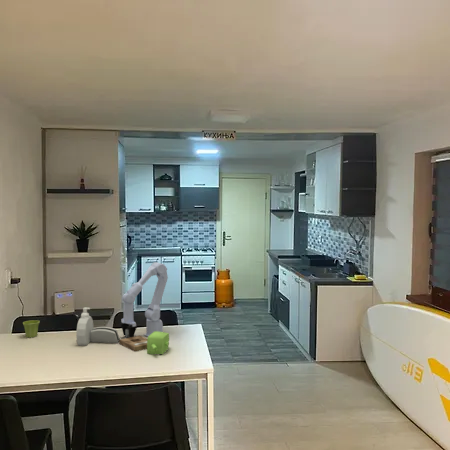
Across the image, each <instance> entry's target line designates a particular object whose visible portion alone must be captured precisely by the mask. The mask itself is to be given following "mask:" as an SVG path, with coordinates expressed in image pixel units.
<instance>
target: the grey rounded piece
mask: <svg viewBox="0 0 450 450" xmlns="http://www.w3.org/2000/svg"><path fill="white" fill-rule="evenodd" d="M118 333H119V332H118V330H117V329H116V328H113V327H109V326H97V327H94V328H93V329H92V331H91V332H90V338H91V341H90V342H91V343H107V344H108V343H109V344H110V343H111V344H118V343H119V340H120V339H121V337H119V334H118Z"/></svg>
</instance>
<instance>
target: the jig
mask: <svg viewBox="0 0 450 450" xmlns="http://www.w3.org/2000/svg"><path fill="white" fill-rule="evenodd" d="M147 338H148V337H144V336H142V335H134V337H130V338H120V340H119V341H118V343H119V345H121V346H122V347H125V348H127V349H129V350H131V351H133V352H139V350H140V351H144V350H147ZM143 349H144V350H143Z"/></svg>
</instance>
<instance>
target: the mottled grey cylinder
mask: <svg viewBox="0 0 450 450" xmlns="http://www.w3.org/2000/svg"><path fill="white" fill-rule="evenodd" d="M124 336H125V338H130V336H129V330H128V328H127V329H125V335H124ZM125 338H124V339H125Z"/></svg>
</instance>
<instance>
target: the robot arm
mask: <svg viewBox="0 0 450 450" xmlns="http://www.w3.org/2000/svg"><path fill="white" fill-rule="evenodd" d="M167 270H168V267H167V266H166V265H165V264H164V263H160V262H157V261H154V262H152V263H151V265H150V266H149V267H148V268H147V269H146V271H145V272H144V274H143V275H142V277H141V278H140V279H139V280H138V282H134V283H132V285H131V286H130V288H129V289H128V290H126V292H125V293H124V294H123V295H122V297H121V301H122V303H123V308H122V309H123V318H121V319H120V320H121V321H120V322H121V323H119V326H120V327H121V331H122V334H123V336H125V329H127V328H128V330H129V336H130V337H135V332H136V331H137V328H138V325H137V323H136V321H135V320H134V302H135V301H136V297H137V296H138V295H139V294H140V292H141V291H142V290H143V287H144V285H145V283H147V282H148V280H149V279H151V277H153V276H156V277H157V282H156V286H155V289H154V292H153V295H152V299H151V302H150V304H149V305H148V307H147V308H146V309H145V311H144V316H145V318H146V324H145V325H146V332H145V333H143V335H144V336H145V337H146V336H147V337H148V336H149V335H150V334H152V333H153V332H154V331H158V332H164V327H163V326H164V324H163V321H162V320H161V319H160V318H161V307H160V305H161V302H162V299H163V297H164V296H163V295H164V292H165V289H166V285H167V282H168V279H169V277H168V276H169V275H168V271H167Z"/></svg>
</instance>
